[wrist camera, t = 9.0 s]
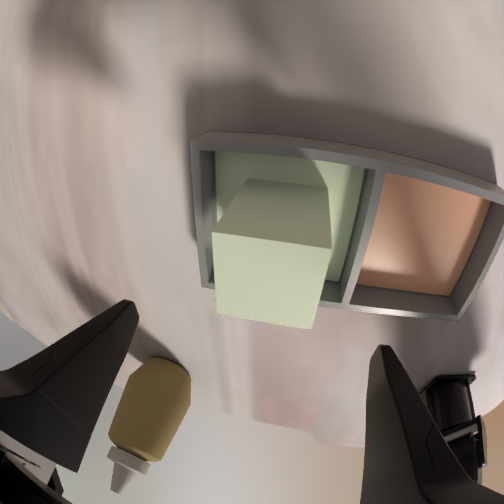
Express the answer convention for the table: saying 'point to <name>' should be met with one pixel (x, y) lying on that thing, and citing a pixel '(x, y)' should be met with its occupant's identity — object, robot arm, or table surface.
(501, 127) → the table surface
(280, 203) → the sage block
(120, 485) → the squeeze bottle
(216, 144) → the board
